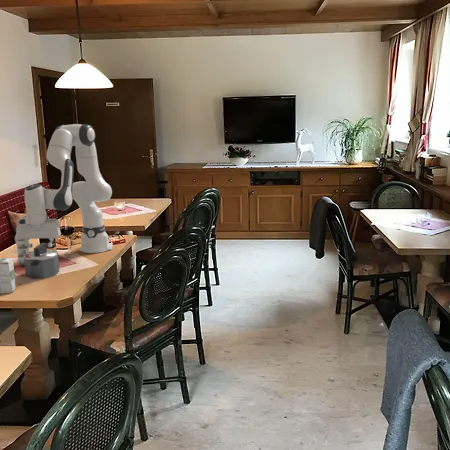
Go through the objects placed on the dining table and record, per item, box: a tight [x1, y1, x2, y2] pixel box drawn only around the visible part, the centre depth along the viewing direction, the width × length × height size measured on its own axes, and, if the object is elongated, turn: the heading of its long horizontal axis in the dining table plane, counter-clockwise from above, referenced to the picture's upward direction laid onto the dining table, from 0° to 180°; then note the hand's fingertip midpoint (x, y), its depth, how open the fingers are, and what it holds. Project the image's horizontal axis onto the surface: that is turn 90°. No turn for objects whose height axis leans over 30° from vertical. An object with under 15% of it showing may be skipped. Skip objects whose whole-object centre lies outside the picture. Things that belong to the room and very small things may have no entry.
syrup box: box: [0, 257, 17, 294], centre depth 222 cm, size 6×6×14 cm
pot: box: [24, 254, 60, 280], centre depth 246 cm, size 20×14×9 cm
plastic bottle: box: [14, 234, 30, 266], centre depth 261 cm, size 6×7×20 cm
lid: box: [24, 242, 59, 261], centre depth 245 cm, size 16×16×6 cm
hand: (40, 247), depth 244 cm, fingers open, 8 cm apart
